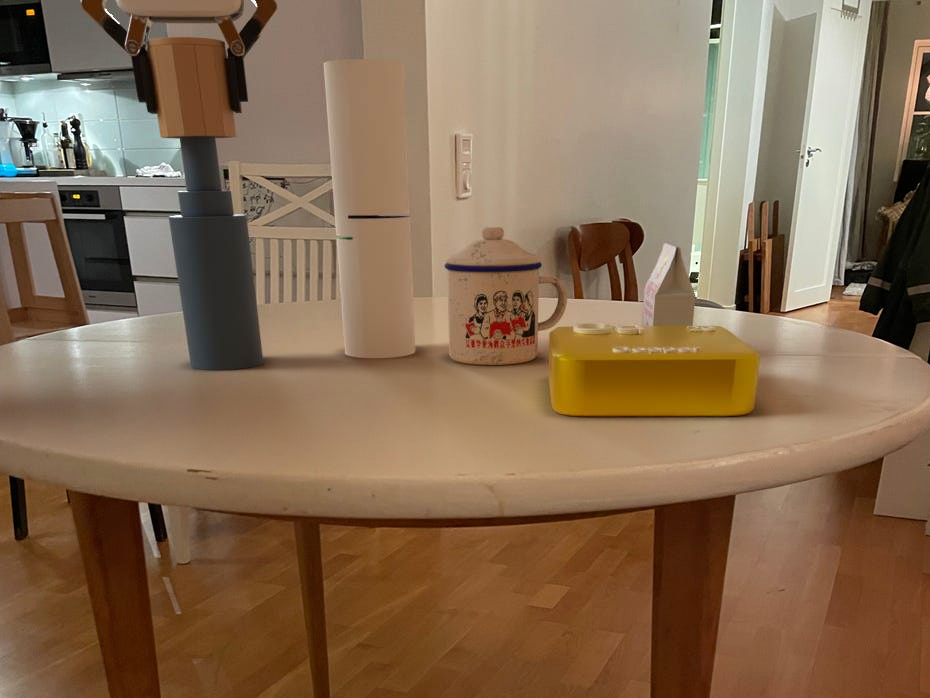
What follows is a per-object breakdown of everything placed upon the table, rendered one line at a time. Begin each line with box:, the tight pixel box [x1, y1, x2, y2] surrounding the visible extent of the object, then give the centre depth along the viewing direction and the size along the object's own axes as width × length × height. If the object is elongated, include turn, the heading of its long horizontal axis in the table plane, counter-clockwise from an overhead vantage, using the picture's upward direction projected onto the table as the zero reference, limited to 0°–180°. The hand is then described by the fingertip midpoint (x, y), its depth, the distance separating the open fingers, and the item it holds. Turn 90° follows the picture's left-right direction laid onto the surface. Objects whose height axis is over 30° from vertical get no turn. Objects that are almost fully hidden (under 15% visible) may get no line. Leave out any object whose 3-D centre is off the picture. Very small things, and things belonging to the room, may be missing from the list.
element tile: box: [548, 322, 761, 417], centre depth 72 cm, size 15×15×5 cm
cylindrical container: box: [323, 58, 416, 359], centre depth 88 cm, size 7×7×25 cm
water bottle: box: [168, 136, 264, 371], centre depth 84 cm, size 7×7×22 cm
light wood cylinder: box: [146, 36, 237, 140], centre depth 78 cm, size 6×6×7 cm
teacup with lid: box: [444, 226, 568, 366], centre depth 87 cm, size 12×9×12 cm
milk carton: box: [641, 242, 696, 326], centre depth 87 cm, size 4×7×10 cm, turn 179°
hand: (195, 110), depth 79 cm, fingers closed on light wood cylinder, 6 cm apart
